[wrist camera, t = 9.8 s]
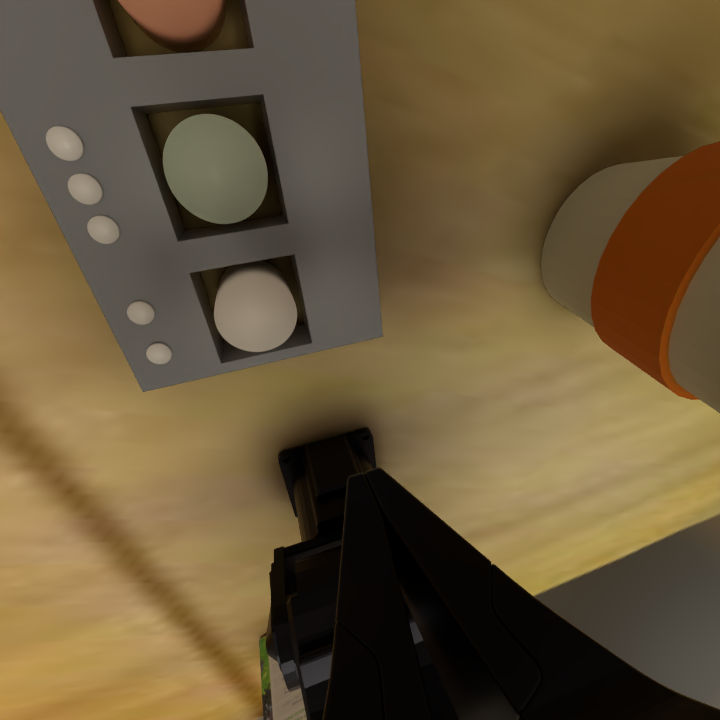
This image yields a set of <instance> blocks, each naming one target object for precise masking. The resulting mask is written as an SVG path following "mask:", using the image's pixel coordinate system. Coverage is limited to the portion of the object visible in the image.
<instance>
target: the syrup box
mask: <svg viewBox="0 0 720 720" xmlns="http://www.w3.org/2000/svg"><path fill="white" fill-rule="evenodd" d="M259 647H260V665H261V681H262V700H263V720H307V717H306V712H305V707H304V702H303V697H302V692H301V688H299V689H297V690H294V691H292V692H289V690H288V689H287V686H286V684H285V680H284V677H283V674H282V672H281V671H280V668H279V664H278V662H277V661H275V660H274V659H273V658H271V657H270V656H269V655H268V654H267V650H266V636H264V637H262V638H261V639H260V641H259Z"/></svg>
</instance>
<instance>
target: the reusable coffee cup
mask: <svg viewBox="0 0 720 720" xmlns="http://www.w3.org/2000/svg"><path fill="white" fill-rule="evenodd" d="M541 273H542V280H543V283H544V285H545V288H546V290H547V292H548V293H549V294H550V296H551V297H552V298H553V299H554V300H556V301H557V302H558V303H560V304H561V305H563V306H564V307H565V308H567V309H568V310H570V311H571V312H573V313H574V314H576V315H577V316H579V317H580V318H582V319H583V320H584V321H586V322H587V323H589V324H590V325H592V326H593V327H595V331H596V332H597V334H598V335H599V337H600V338H601V340H602V341H603V342H604V343H605V344H607V345H608V346H609V347H610V348H612V349H613V350H615V351H616V352H617V353H619V354H620V355H622V356H623V357H624V358H626V359H627V360H629V361H630V362H631V363H633V364H634V365H636V366H637V367H638V368H640V369H641V370H643V371H644V372H646V373H647V374H648V375H650V376H651V377H653V378H654V379H655V380H657V381H658V382H660V383H661V384H662V385H664V386H665V387H667V388H668V389H669V390H671V391H672V392H674V393H675V394H676V395H678V396H681V397H684V398H687V399H691V400H696V399H700V400H701V401H703V402H704V403H706V404H707V405H709V406H710V407H712V408H713V409H714V410H716V411H717V412H719V413H720V141H719V142H716V143H713V144H709V145H706V146H702V147H700V148H698V149H696V150H694V151H693V152H691V153H689V154H687V155H685V156H678V157H670V158H662V159H655V160H647V161H639V162H632V163H624V164H617V165H614V166H611V167H607V168H605V169H603V170H601V171H599V172H597V173H595V174H593V175H592V176H591V177H589V178H588V179H587V180H585V181H584V182H583V183H581V184H580V185H579V186H578V187H577V188H576V189H575V190H574V191H573V192H572V193H571V195H570V196H569V197H568V198H567V199H566V201H565V202H564V203H563V205H562V206H561V208H560V209H559V210H558V212H557V214H556V216H555V218H554V220H553V221H552V223H551V225H550V228H549V230H548V233H547V236H546V238H545V242H544V246H543V250H542V257H541Z"/></svg>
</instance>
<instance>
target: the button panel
mask: <svg viewBox="0 0 720 720" xmlns="http://www.w3.org/2000/svg"><path fill="white" fill-rule="evenodd" d="M239 1H240V6H241V11H242V16H243V21H244V26H245V31H246V36H247V41H248V46H249V48H248V49H234V50H220V51H205V52H191V53H177V54H163V55H149V56H135V57H127V56H126V53H125V51H124V48H123V45H122V42H121V39H120V36H119V33H118V30H117V27H116V24H115V21H114V18H113V15H112V12H111V9H110V6H109V3H108V0H0V110H1V112H2V114H3V116H4V118H5V120H6V122H7V124H8V126H9V128H10V130H11V132H12V134H13V136H14V138H15V140H16V142H17V144H18V146H19V148H20V150H21V152H22V154H23V156H24V158H25V160H26V162H27V164H28V166H29V168H30V170H31V172H32V173H33V175H34V177H35V179H36V181H37V183H38V185H39V187H40V189H41V191H42V193H43V195H44V197H45V199H46V201H47V203H48V205H49V207H50V209H51V211H52V213H53V215H54V217H55V219H56V221H57V223H58V225H59V227H60V229H61V231H62V233H63V235H64V237H65V239H66V241H67V243H68V245H69V247H70V249H71V251H72V253H73V255H74V257H75V258H76V260H77V262H78V264H79V266H80V268H81V270H82V272H83V274H84V276H85V278H86V280H87V282H88V284H89V286H90V288H91V290H92V292H93V294H94V296H95V298H96V300H97V302H98V304H99V306H100V308H101V310H102V312H103V314H104V316H105V318H106V320H107V322H108V324H109V326H110V328H111V330H112V332H113V334H114V336H115V338H116V340H117V342H118V344H119V345H120V347H121V349H122V351H123V353H124V355H125V357H126V359H127V361H128V363H129V365H130V367H131V369H132V371H133V373H134V375H135V377H136V379H137V381H138V383H139V385H140V387H141V389H142V391H143V392H146V391H150V390H154V389H159V388H163V387H167V386H172V385H176V384H180V383H184V382H189V381H193V380H197V379H202V378H206V377H210V376H215V375H219V374H223V373H228V372H232V371H236V370H241V369H245V368H249V367H254V366H258V365H262V364H266V363H271V362H275V361H279V360H284V359H288V358H292V357H297V356H301V355H305V354H310V353H314V352H318V351H323V350H327V349H331V348H336V347H340V346H344V345H349V344H353V343H357V342H361V341H366V340H370V339H374V338H379V337H383V332H382V320H381V308H380V296H379V284H378V272H377V260H376V247H375V235H374V223H373V211H372V199H371V187H370V175H369V163H368V151H367V139H366V127H365V115H364V103H363V90H362V78H361V66H360V54H359V42H358V30H357V18H356V6H355V0H239ZM259 102H260V105H261V110H262V115H263V120H264V125H265V130H266V135H267V140H268V145H269V150H270V154H271V159H272V164H273V169H274V174H275V179H276V184H277V189H278V194H279V199H280V204H281V209H282V214H283V216H276V217H270V218H264V219H257V220H251V221H245V222H238V223H232V224H226V225H219V226H213V227H207V228H200V229H194V230H188V231H185V228H184V225H183V222H182V219H181V216H180V213H179V210H178V207H177V204H176V201H175V198H174V195H173V193H172V191H171V189H170V187H169V185H168V183H167V180H166V177H165V173H164V168H163V163H162V160H161V157H160V154H159V151H158V148H157V145H156V142H155V139H154V136H153V133H152V130H151V127H150V124H149V122H148V119H147V116H146V114H148V113H158V112H168V111H178V110H188V109H198V108H209V107H219V106H229V105H239V104H249V103H259ZM288 255H291V258H292V263H293V268H294V273H295V278H296V283H297V288H298V293H299V298H300V303H301V308H302V313H303V318H304V323H305V324H302V325H298V326H295V328H294V330H293V332H292V334H291V335H290V337H289V338H288V339H287V340H286V341H285V342H284V343H282V344H281V345H280V346H278V347H276V348H274V349H271V350H268V351H263V352H250V351H245V350H241V349H239V348H236V347H235V346H233V345H231V344H230V343H229V342H227V341H224V342H223V340H222V337H221V334H220V333H219V331H218V329H217V327H216V324H215V320H214V314H213V311H212V308H211V305H210V302H209V299H208V296H207V293H206V290H205V287H204V284H203V281H202V278H201V275H200V272H199V271H204V270H209V269H215V268H221V267H226V266H232V265H237V264H243V263H249V262H254V261H260V260H265V259H271V258H277V257H282V256H288Z"/></svg>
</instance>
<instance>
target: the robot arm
mask: <svg viewBox="0 0 720 720" xmlns="http://www.w3.org/2000/svg"><path fill="white" fill-rule="evenodd" d="M364 435H366V436H365V437H363V436H364ZM285 457H289V458H287V459H283V458H285ZM278 460H279V465H280V468H281V471H282V474H283V478H284V481H285V484H286V487H287V491H288V494H289V497H290V500H291V503H292V507H293V510H294V513H295V516H296V517H297V518H298V522H299V528H300V534H301V540H302V542H300V543H297V544H294V545H291V546H288V547H285V548H284V546H283V547H280V548H276V549H274V563H272V564H271V572H270V573H269V575H270V588H271V608H270V615H269V621H268V628H267V634H266V650H267V654H268V655H269V656H270V657H271V658H273V659H274V660H275V661H277V662H278V664H279V668H280V671H281V672H282V674H283V677H284V680H285V684H286V686H287V689H288V690H289V692H292V691H294V690H297V689H299V688H301V692H302V697H303V702H304V707H305V712H306V717H307V720H720V709H717V708H715V707H712V706H710V705H707V704H705V703H702V702H700V701H697V700H695V699H692V698H689V697H687V696H685V695H682V694H680V693H678V692H676V691H674V690H672V689H669V688H668V687H666V686H664V685H662V684H660V683H658V682H656V681H655V680H653V679H651V678H650V677H648V676H646V675H644V674H643V673H641V672H640V671H638V670H637V669H635V668H634V667H632V666H631V665H629V664H628V663H626V662H625V661H624V660H622V659H621V658H619V657H618V656H616V655H615V654H614V653H612V652H610V651H609V650H608V649H607V648H605V647H604V646H602V645H601V644H599V643H598V642H597V641H595V640H594V639H592V638H591V637H589V636H588V635H586V634H585V633H584V632H582V631H581V630H579V629H578V628H577V627H575V626H574V625H572V624H571V623H569V622H568V621H567V620H565V619H564V618H562V617H561V616H559V615H558V614H557V613H555V612H554V611H552V610H551V609H550V608H548V607H547V606H546V605H544V604H543V603H542V602H540V601H539V600H538V599H536V598H535V597H533V596H532V595H531V594H530V593H528V592H527V591H526V590H525V589H523V588H522V587H521V586H520V585H518V584H517V583H516V582H515V581H514V580H512V579H511V578H510V577H509V576H507V575H506V574H505V573H504V572H503V571H502V570H500V569H499V568H498V567H497V566H496V565H494V564H492V566H491V561H490V560H488V559H487V558H486V557H485V556H484V555H483V554H481V553H480V552H479V551H478V550H477V549H476V548H474V547H473V546H472V545H471V544H470V543H468V542H467V541H466V540H465V539H464V538H463V537H461V536H460V535H459V534H458V533H457V532H456V531H454V530H453V529H452V528H451V527H450V526H448V525H447V524H446V523H445V522H444V521H443V520H441V519H440V518H439V517H438V516H437V515H436V514H434V513H433V512H432V511H431V510H430V509H429V508H427V507H426V506H425V505H424V504H423V503H421V502H420V501H419V500H418V499H417V498H416V497H414V496H413V495H412V494H411V493H410V492H409V491H407V490H406V489H405V488H404V487H403V486H401V485H400V484H399V483H398V482H397V481H396V480H394V479H393V478H392V477H391V476H390V475H389V474H387V473H386V472H385V471H384V470H383V469H381V468H376V461H375V452H374V444H373V436H372V433H371V431H370V430H369V429H367V428H363V429H360V430H356V431H353V432H349V433H345V434H342V435H338V436H335V437H331V438H327V439H324V440H320V441H317V442H313V443H309V444H306V445H302V446H299V447H295V448H292V449H288V450H284V451H282V452H281V453H279V455H278Z"/></svg>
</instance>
